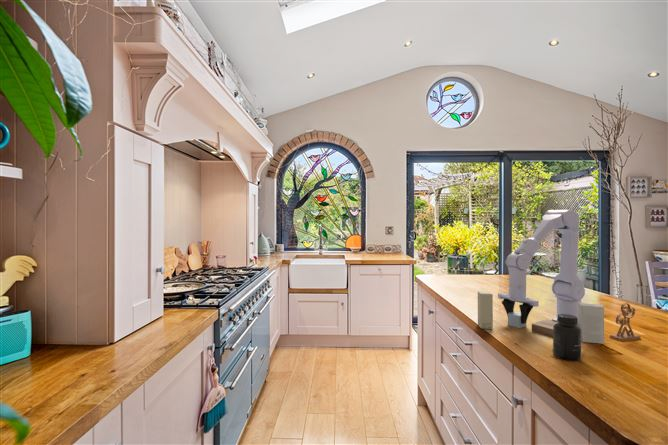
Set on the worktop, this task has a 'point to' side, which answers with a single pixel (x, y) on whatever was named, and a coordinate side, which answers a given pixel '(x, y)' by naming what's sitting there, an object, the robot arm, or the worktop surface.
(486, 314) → the box
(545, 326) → the walnut block
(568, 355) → the supplement bottle
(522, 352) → the worktop surface
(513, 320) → the slate cube
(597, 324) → the skincare box
